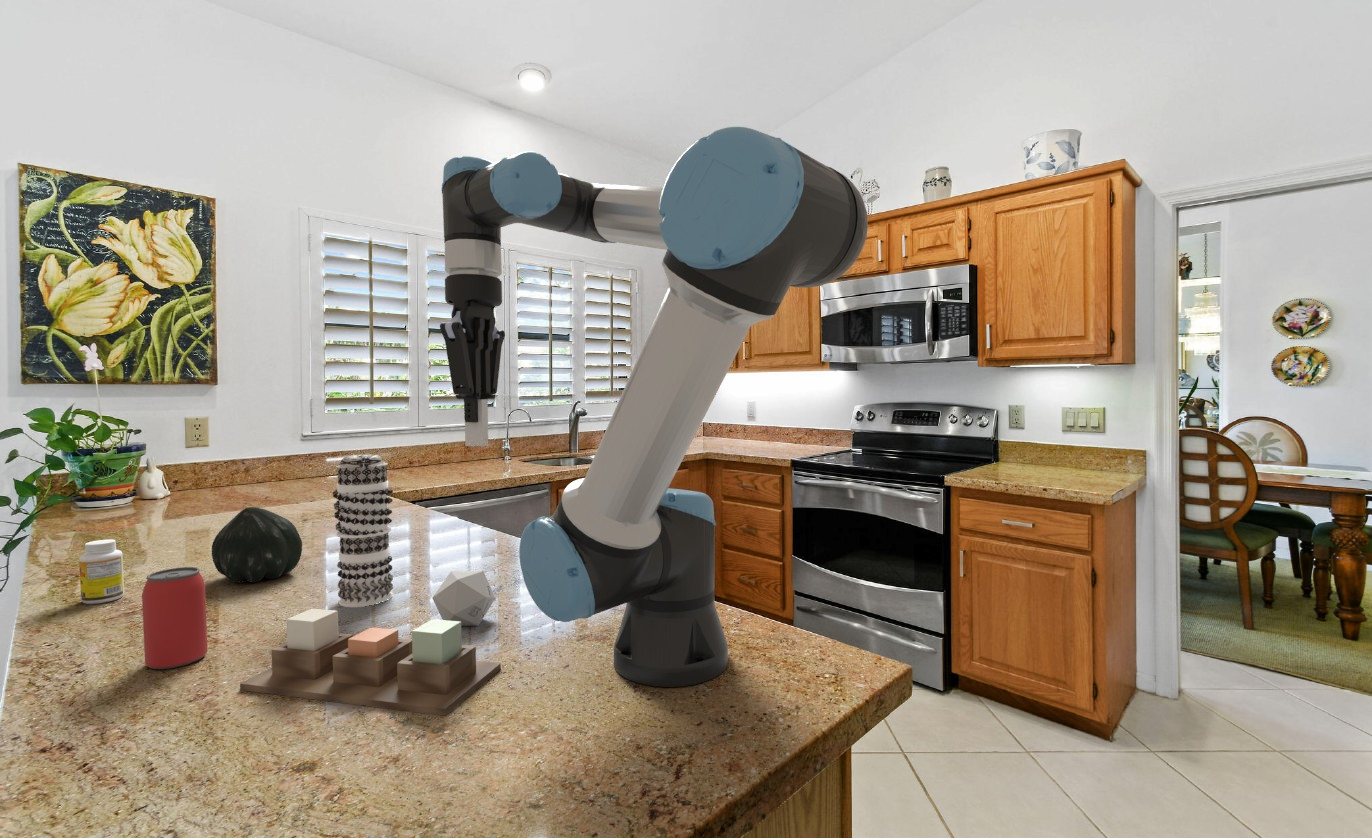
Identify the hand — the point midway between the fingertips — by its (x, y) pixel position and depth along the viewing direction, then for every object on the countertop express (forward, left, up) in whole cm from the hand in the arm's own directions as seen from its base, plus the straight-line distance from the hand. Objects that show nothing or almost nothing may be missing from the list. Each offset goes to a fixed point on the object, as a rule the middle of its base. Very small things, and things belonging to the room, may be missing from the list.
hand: (476, 445), depth 89 cm
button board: (+7, +13, -28) cm, 32 cm away
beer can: (+37, +14, -29) cm, 49 cm away
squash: (+60, -20, -29) cm, 69 cm away
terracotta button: (+7, +13, -27) cm, 30 cm away
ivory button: (+16, +13, -25) cm, 32 cm away
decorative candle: (+30, -13, -29) cm, 44 cm away
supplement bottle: (+75, -3, -29) cm, 80 cm away
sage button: (-2, +13, -25) cm, 28 cm away
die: (+7, -7, -29) cm, 30 cm away
